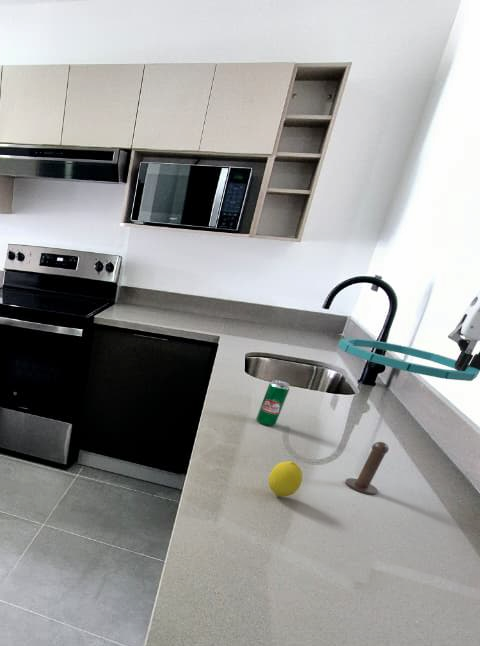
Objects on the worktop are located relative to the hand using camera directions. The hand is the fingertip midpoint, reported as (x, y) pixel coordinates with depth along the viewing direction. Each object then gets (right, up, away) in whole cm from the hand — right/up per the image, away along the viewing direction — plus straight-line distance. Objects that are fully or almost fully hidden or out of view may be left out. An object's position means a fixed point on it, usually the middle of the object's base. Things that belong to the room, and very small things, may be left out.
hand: (465, 371), depth 111 cm
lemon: (-48, -27, -11) cm, 56 cm away
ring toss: (-24, -26, -2) cm, 35 cm away
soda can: (-29, -11, +29) cm, 43 cm away
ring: (-11, +3, +3) cm, 12 cm away
